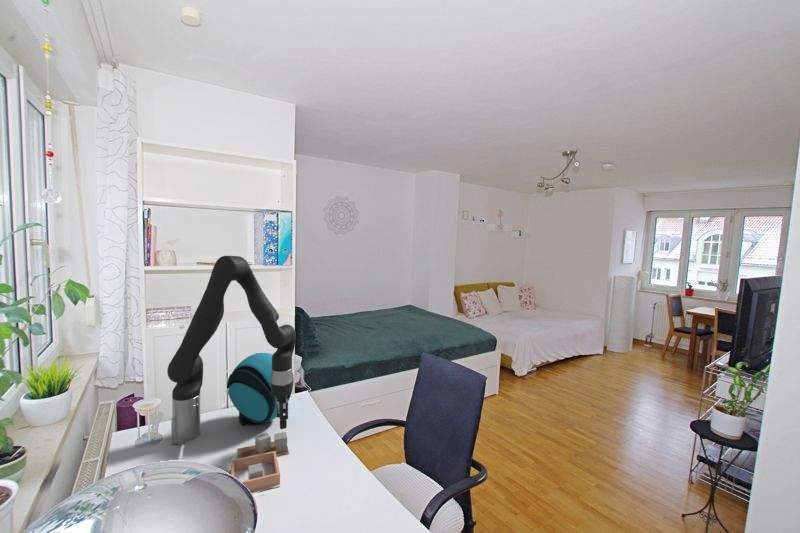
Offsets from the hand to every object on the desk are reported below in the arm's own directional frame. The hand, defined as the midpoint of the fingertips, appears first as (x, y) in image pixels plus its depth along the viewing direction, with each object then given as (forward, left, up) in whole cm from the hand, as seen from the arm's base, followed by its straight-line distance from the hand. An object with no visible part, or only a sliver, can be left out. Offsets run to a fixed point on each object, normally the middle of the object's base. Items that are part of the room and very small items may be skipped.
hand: (281, 422), depth 131 cm
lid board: (-6, 0, -11) cm, 13 cm away
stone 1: (-10, -15, -11) cm, 21 cm away
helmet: (-5, +23, -12) cm, 27 cm away
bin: (-10, -13, -11) cm, 19 cm away
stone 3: (0, 0, -10) cm, 10 cm away
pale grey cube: (-6, +2, -10) cm, 12 cm away
